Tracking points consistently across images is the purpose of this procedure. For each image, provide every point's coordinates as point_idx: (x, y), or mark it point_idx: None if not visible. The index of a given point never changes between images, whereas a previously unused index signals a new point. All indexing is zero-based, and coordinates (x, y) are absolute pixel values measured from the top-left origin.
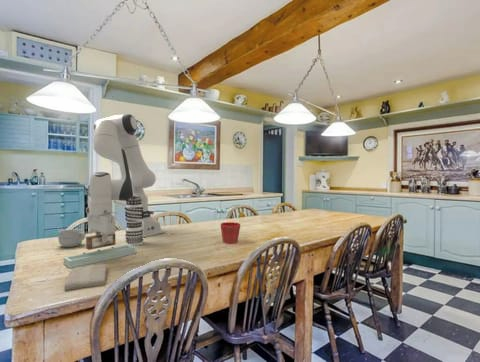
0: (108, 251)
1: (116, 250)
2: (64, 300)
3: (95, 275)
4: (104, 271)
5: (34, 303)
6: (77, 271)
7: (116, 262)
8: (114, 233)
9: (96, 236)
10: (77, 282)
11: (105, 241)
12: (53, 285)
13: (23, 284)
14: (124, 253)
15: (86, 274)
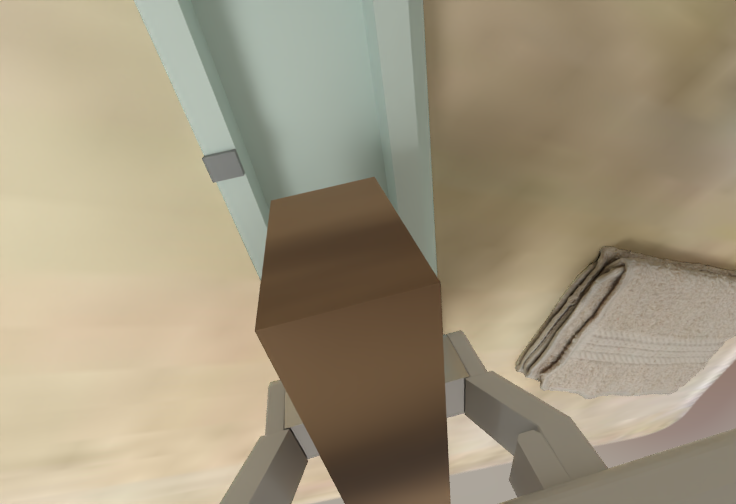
0: (265, 203)
1: (394, 150)
2: (719, 365)
3: (732, 321)
4: (729, 287)
5: (659, 411)
6: (615, 376)
7: (545, 173)
8: (411, 299)
9: (439, 488)
10: (705, 363)
11: (465, 346)
12: (584, 400)
13: (496, 456)
14: (420, 47)
15: (681, 347)
